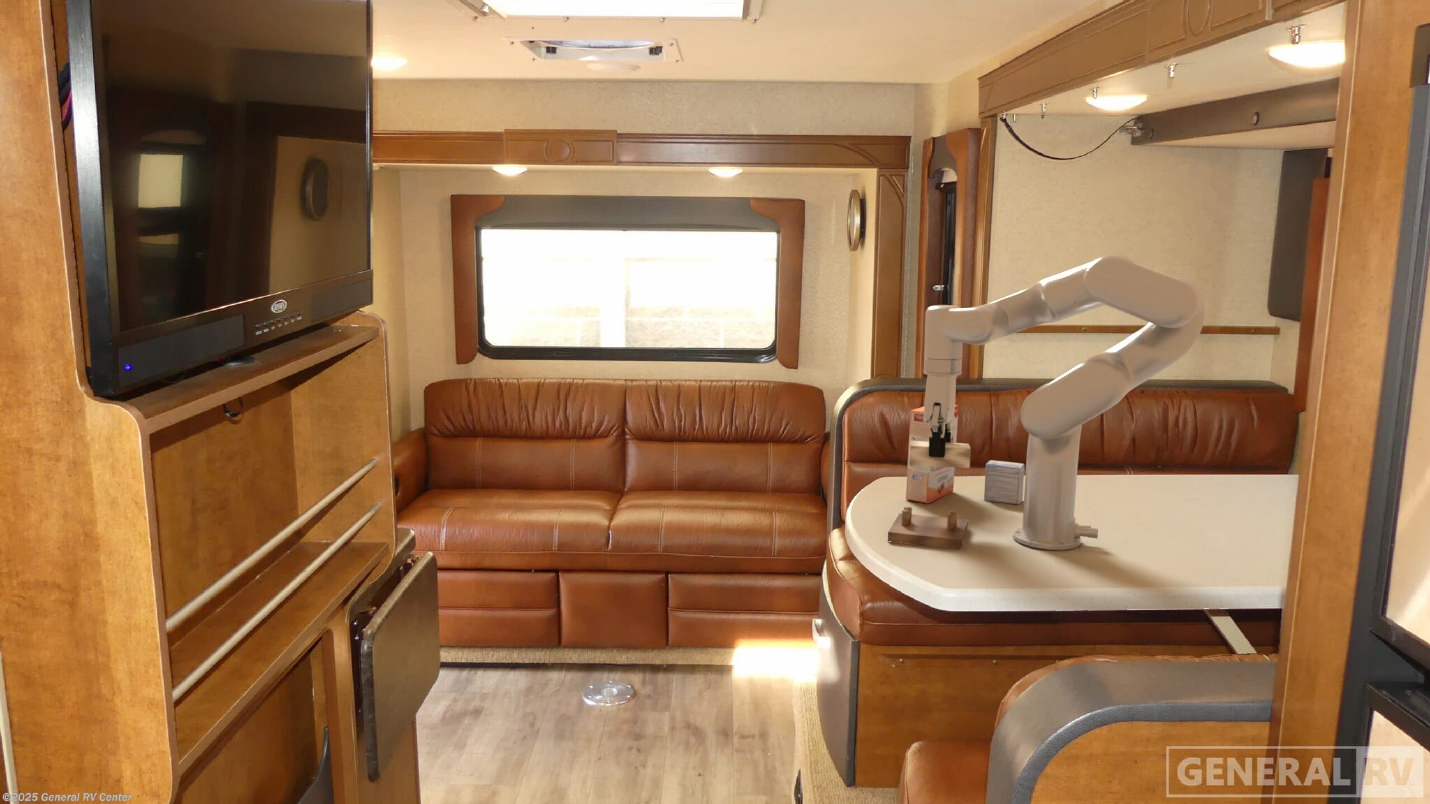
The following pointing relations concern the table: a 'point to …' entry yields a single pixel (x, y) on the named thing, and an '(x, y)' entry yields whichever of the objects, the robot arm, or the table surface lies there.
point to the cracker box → (928, 479)
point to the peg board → (928, 530)
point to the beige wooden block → (953, 457)
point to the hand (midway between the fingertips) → (939, 452)
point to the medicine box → (1004, 482)
